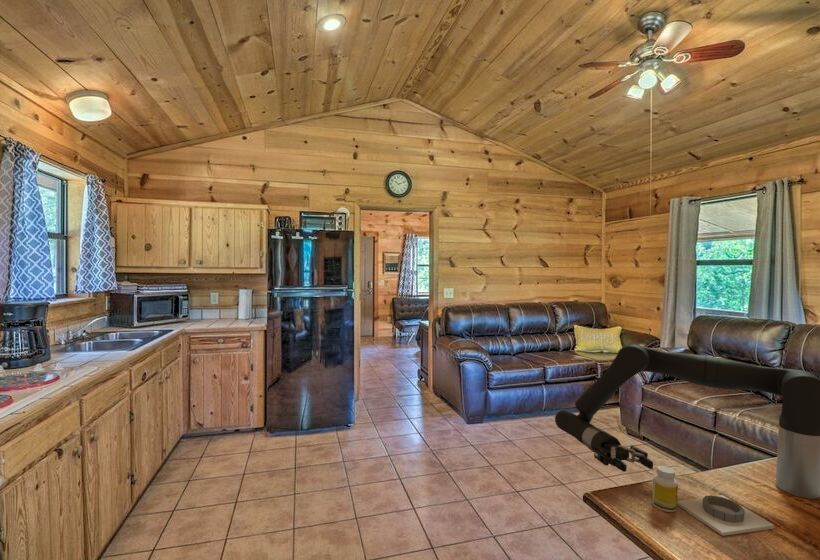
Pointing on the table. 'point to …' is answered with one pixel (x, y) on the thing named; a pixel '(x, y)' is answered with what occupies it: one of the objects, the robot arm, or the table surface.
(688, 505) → the socket plate
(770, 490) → the table surface
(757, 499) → the table surface
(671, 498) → the supplement bottle
